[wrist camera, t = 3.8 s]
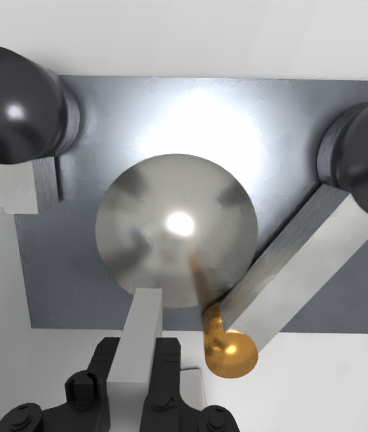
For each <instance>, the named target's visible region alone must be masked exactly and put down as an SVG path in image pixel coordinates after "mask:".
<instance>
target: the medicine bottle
mask: <svg viewBox="0 0 368 432" xmlns="http://www.w3.org/2000/svg"><path fill="white" fill-rule="evenodd" d="M180 395H181V397H182V399H183V400H184V402H185V403H186V404H187V405H189V406H190V407H192V408H194V409H197V410H200V411H202V410H203V409H204V408H206V401H205V394H204V386H203V379H202V373H201V371H200V370H199V369H193V370H183V371H180ZM109 432H110V430H109Z"/></svg>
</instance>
